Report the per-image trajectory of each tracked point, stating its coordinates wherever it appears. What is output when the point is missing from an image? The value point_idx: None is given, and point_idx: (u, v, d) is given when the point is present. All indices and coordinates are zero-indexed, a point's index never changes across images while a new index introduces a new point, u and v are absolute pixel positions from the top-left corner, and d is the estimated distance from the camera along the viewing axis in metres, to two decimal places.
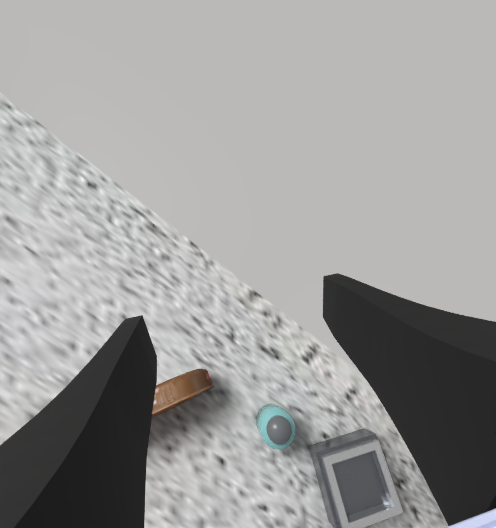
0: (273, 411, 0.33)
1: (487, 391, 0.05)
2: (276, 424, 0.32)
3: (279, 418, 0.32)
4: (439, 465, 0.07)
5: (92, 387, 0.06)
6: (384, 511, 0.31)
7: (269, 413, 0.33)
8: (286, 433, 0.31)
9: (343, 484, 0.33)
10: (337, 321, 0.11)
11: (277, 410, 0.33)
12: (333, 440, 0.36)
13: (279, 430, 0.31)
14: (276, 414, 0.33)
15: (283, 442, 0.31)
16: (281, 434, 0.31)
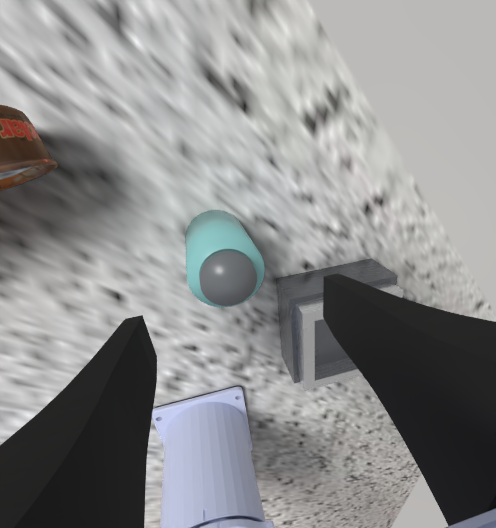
0: (219, 240, 0.13)
1: (487, 391, 0.05)
2: (223, 270, 0.13)
3: (232, 259, 0.13)
4: (439, 465, 0.07)
5: (92, 388, 0.06)
6: None
7: (209, 244, 0.13)
8: (243, 287, 0.14)
9: (320, 336, 0.21)
10: (337, 321, 0.11)
11: (229, 238, 0.13)
12: (320, 275, 0.21)
13: (228, 281, 0.13)
14: (226, 247, 0.14)
15: (234, 302, 0.14)
16: (232, 288, 0.14)
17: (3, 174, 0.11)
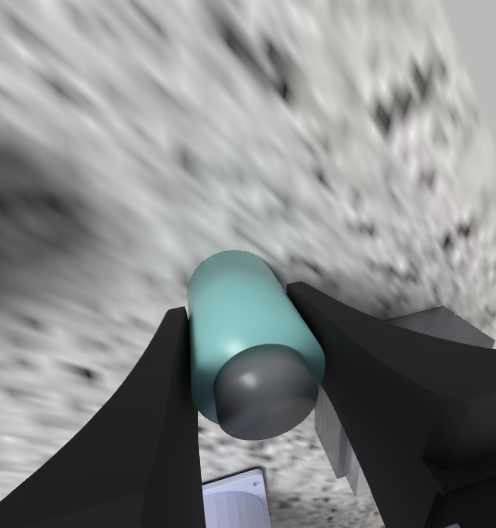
0: (252, 332, 0.07)
1: (413, 413, 0.05)
2: (259, 390, 0.07)
3: (277, 370, 0.07)
4: (383, 484, 0.07)
5: (159, 371, 0.07)
6: None
7: (233, 339, 0.07)
8: (293, 410, 0.08)
9: None
10: None
11: (270, 327, 0.07)
12: None
13: (268, 405, 0.07)
14: (263, 341, 0.07)
15: (275, 433, 0.08)
16: (273, 414, 0.08)
17: None
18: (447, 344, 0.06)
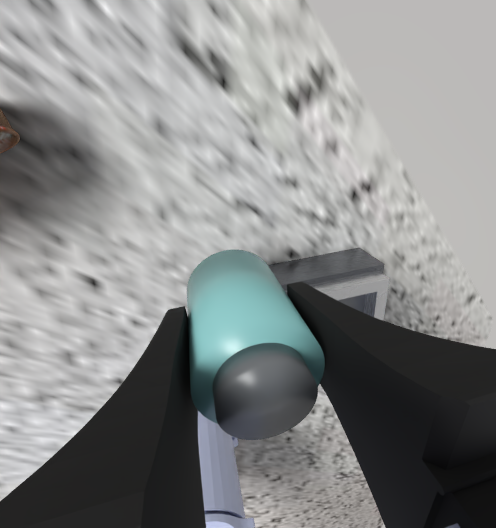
0: (251, 331, 0.07)
1: (414, 413, 0.05)
2: (258, 389, 0.07)
3: (276, 370, 0.07)
4: (383, 484, 0.07)
5: (158, 371, 0.07)
6: None
7: (232, 338, 0.07)
8: (293, 409, 0.08)
9: None
10: None
11: (269, 326, 0.07)
12: (305, 263, 0.20)
13: (267, 405, 0.07)
14: (262, 340, 0.07)
15: (275, 432, 0.08)
16: (272, 414, 0.08)
17: None
18: (447, 344, 0.06)
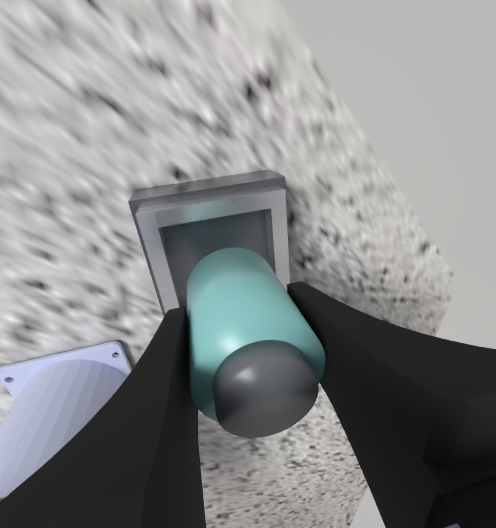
0: (248, 328, 0.07)
1: (413, 414, 0.05)
2: (258, 387, 0.07)
3: (274, 367, 0.07)
4: (383, 484, 0.07)
5: (159, 371, 0.07)
6: None
7: (229, 336, 0.07)
8: (294, 406, 0.08)
9: (189, 262, 0.16)
10: None
11: (266, 323, 0.07)
12: (192, 183, 0.16)
13: (267, 402, 0.07)
14: (260, 338, 0.07)
15: (277, 429, 0.08)
16: (273, 411, 0.08)
17: None
18: (447, 344, 0.06)
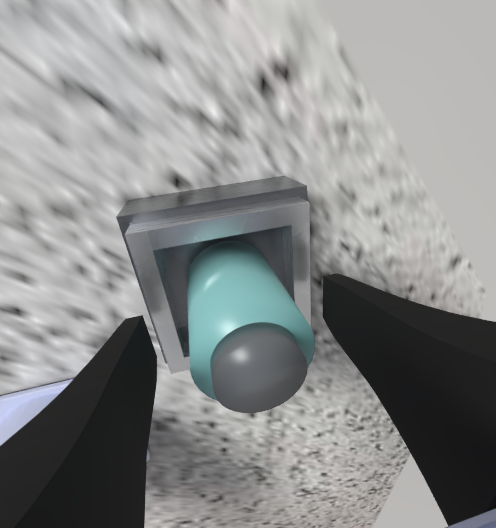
0: (242, 311, 0.08)
1: (487, 391, 0.05)
2: (251, 364, 0.08)
3: (266, 345, 0.08)
4: (439, 465, 0.07)
5: (92, 387, 0.06)
6: None
7: (225, 318, 0.08)
8: (285, 383, 0.08)
9: None
10: (337, 321, 0.11)
11: (259, 307, 0.08)
12: (194, 193, 0.13)
13: (260, 379, 0.08)
14: (253, 320, 0.08)
15: (270, 405, 0.09)
16: (266, 388, 0.08)
17: None
18: None
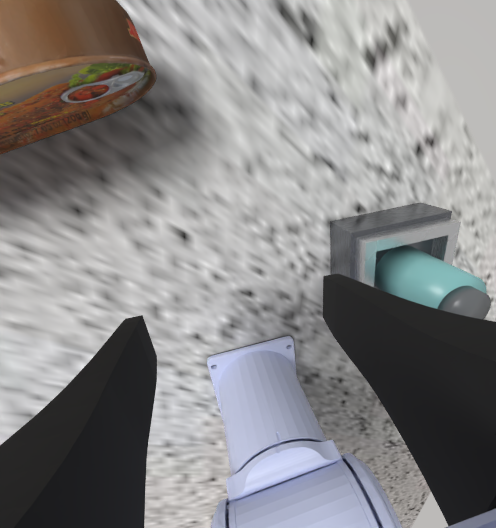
0: (460, 279, 0.16)
1: (487, 391, 0.05)
2: (468, 305, 0.16)
3: (476, 295, 0.16)
4: (439, 465, 0.07)
5: (92, 388, 0.06)
6: None
7: (452, 283, 0.16)
8: (477, 316, 0.16)
9: None
10: (337, 320, 0.11)
11: (467, 277, 0.16)
12: (373, 216, 0.22)
13: (468, 313, 0.16)
14: (463, 284, 0.16)
15: None
16: None
17: (114, 84, 0.12)
18: None
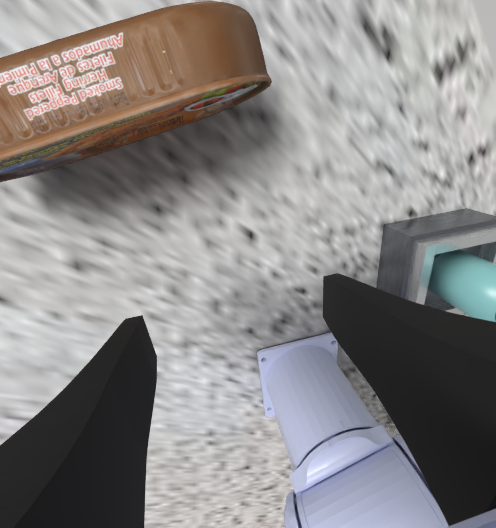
0: None
1: (487, 391, 0.05)
2: None
3: None
4: (439, 465, 0.07)
5: (92, 387, 0.06)
6: None
7: None
8: None
9: None
10: (337, 321, 0.11)
11: None
12: (425, 220, 0.23)
13: None
14: None
15: None
16: None
17: (229, 95, 0.13)
18: None
